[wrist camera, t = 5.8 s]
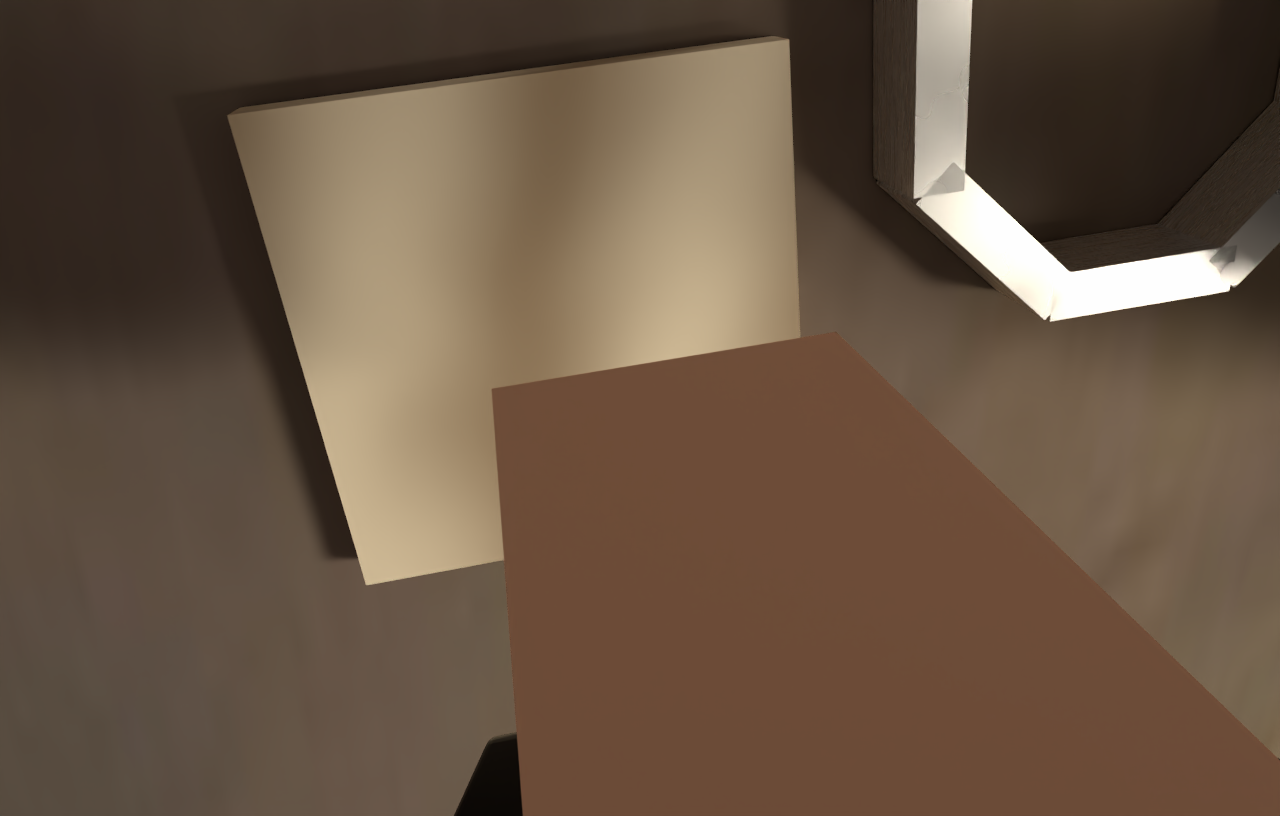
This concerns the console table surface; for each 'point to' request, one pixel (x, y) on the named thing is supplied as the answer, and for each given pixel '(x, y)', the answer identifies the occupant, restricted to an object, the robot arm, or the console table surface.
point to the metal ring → (998, 245)
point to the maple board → (514, 258)
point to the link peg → (818, 614)
